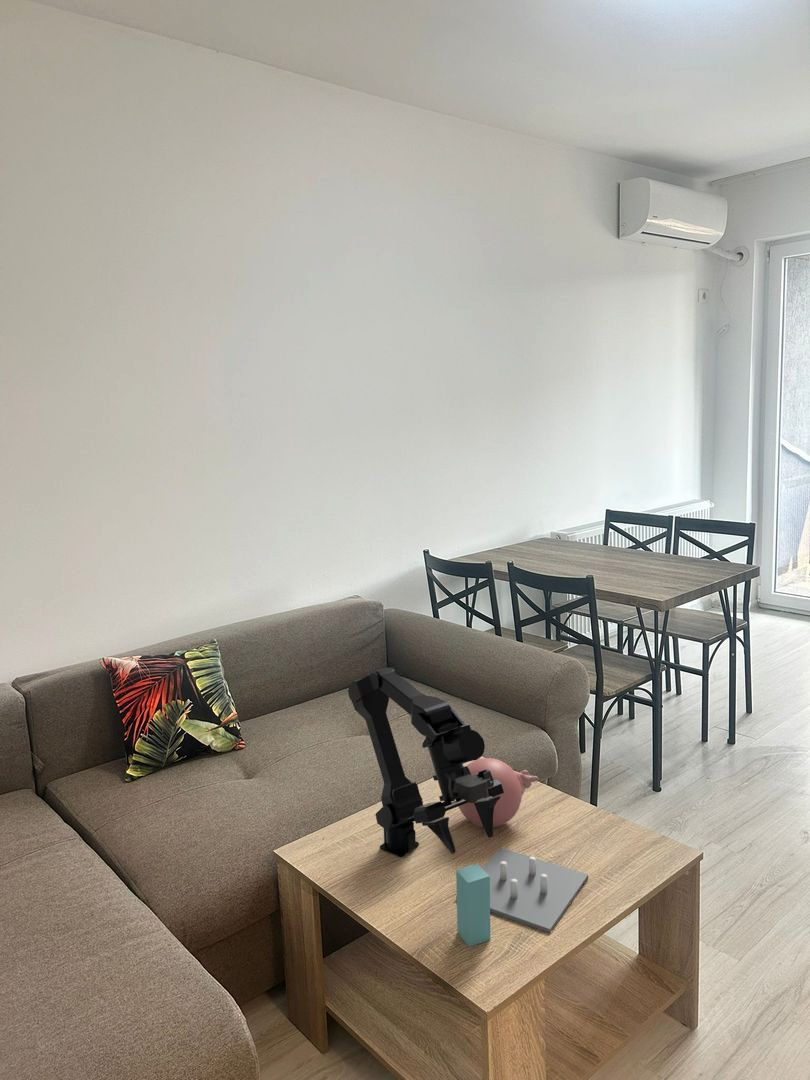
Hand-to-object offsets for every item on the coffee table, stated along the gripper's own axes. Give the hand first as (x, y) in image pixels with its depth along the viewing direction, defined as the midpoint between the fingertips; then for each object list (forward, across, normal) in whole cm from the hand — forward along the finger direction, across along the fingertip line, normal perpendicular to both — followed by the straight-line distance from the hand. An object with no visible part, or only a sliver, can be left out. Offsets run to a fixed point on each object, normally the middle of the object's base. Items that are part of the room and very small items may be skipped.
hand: (472, 845), depth 161 cm
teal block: (+15, -6, 0) cm, 16 cm away
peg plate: (+12, +12, +4) cm, 18 cm away
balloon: (+2, +24, +25) cm, 35 cm away
